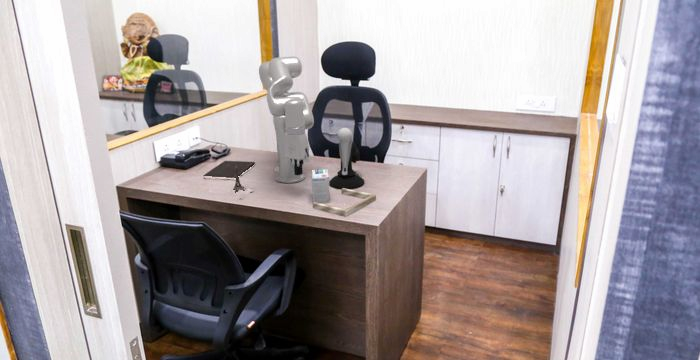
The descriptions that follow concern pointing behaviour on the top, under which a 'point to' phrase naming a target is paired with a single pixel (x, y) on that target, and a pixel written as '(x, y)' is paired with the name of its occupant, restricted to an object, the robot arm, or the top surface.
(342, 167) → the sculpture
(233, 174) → the hardcover book
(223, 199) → the top surface
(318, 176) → the light bulb box
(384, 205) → the top surface
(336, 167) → the top surface
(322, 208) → the bay
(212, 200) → the top surface
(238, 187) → the eiffel tower figurine
